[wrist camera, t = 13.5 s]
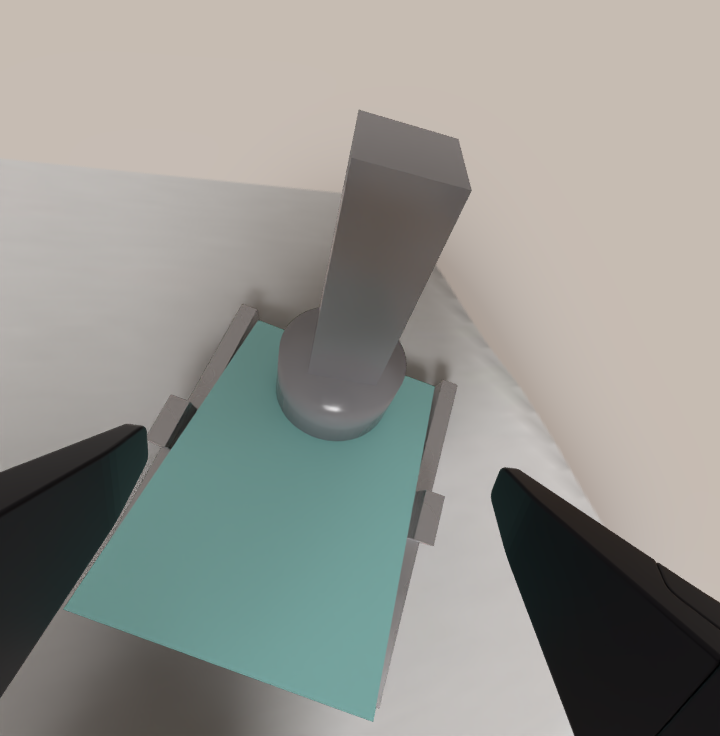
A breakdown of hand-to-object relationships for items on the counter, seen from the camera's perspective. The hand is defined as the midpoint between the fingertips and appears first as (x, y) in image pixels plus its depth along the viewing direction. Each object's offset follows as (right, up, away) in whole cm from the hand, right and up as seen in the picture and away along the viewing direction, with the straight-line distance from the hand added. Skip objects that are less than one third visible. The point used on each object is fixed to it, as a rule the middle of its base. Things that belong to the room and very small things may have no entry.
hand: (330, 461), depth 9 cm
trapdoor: (-3, -4, +11) cm, 12 cm away
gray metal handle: (-1, +1, +12) cm, 12 cm away
